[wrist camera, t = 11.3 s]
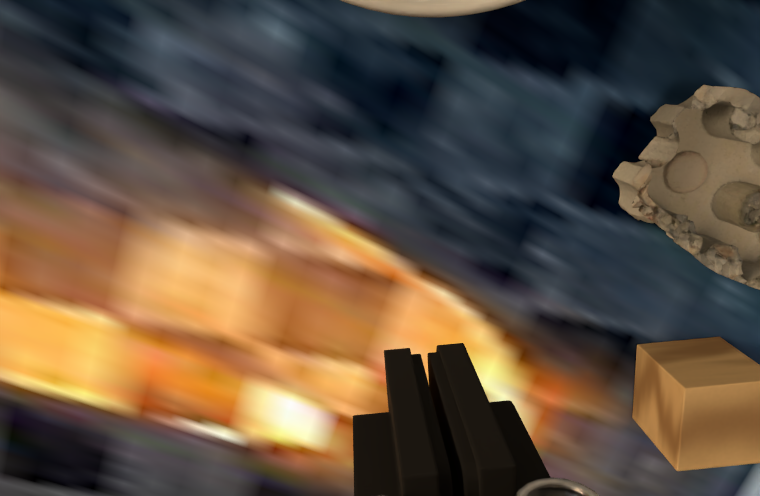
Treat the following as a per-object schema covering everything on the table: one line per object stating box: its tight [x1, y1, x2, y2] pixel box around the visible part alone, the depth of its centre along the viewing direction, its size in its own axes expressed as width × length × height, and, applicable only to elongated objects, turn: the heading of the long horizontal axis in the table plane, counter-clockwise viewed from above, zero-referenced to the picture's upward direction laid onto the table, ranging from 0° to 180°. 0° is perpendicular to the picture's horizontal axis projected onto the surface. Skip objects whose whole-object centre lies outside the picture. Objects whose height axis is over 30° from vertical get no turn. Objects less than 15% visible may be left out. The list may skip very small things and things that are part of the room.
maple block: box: [632, 337, 760, 471], centre depth 32 cm, size 5×5×5 cm
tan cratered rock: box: [613, 85, 760, 290], centre depth 29 cm, size 11×8×4 cm
